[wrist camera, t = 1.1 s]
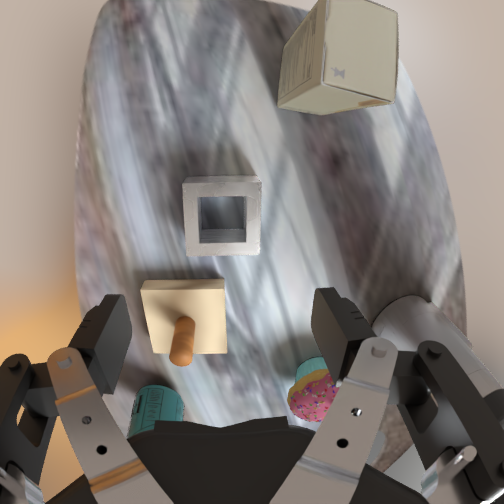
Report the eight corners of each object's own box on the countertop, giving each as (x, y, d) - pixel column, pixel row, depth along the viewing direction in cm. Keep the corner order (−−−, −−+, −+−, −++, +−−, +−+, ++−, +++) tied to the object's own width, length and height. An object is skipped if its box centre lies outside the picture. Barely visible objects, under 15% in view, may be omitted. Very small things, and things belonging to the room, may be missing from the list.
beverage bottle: (141, 369, 33) (112, 515, 15) (192, 383, 35) (186, 530, 16) (135, 397, 35) (111, 525, 17) (180, 410, 37) (173, 538, 19)
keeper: (224, 278, 29) (225, 320, 23) (226, 341, 32) (228, 387, 26) (144, 280, 28) (126, 320, 22) (156, 341, 32) (146, 386, 25)
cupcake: (309, 337, 33) (340, 418, 22) (358, 356, 36) (394, 426, 25) (269, 382, 36) (284, 461, 25) (318, 396, 38) (340, 465, 27)
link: (256, 175, 25) (261, 181, 22) (255, 239, 28) (259, 254, 25) (187, 176, 25) (182, 183, 22) (190, 241, 27) (186, 256, 24)
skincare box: (323, 116, 24) (396, 111, 13) (275, 108, 23) (318, 90, 12) (330, 52, 21) (401, 10, 10) (283, 42, 21) (328, -16, 10)
